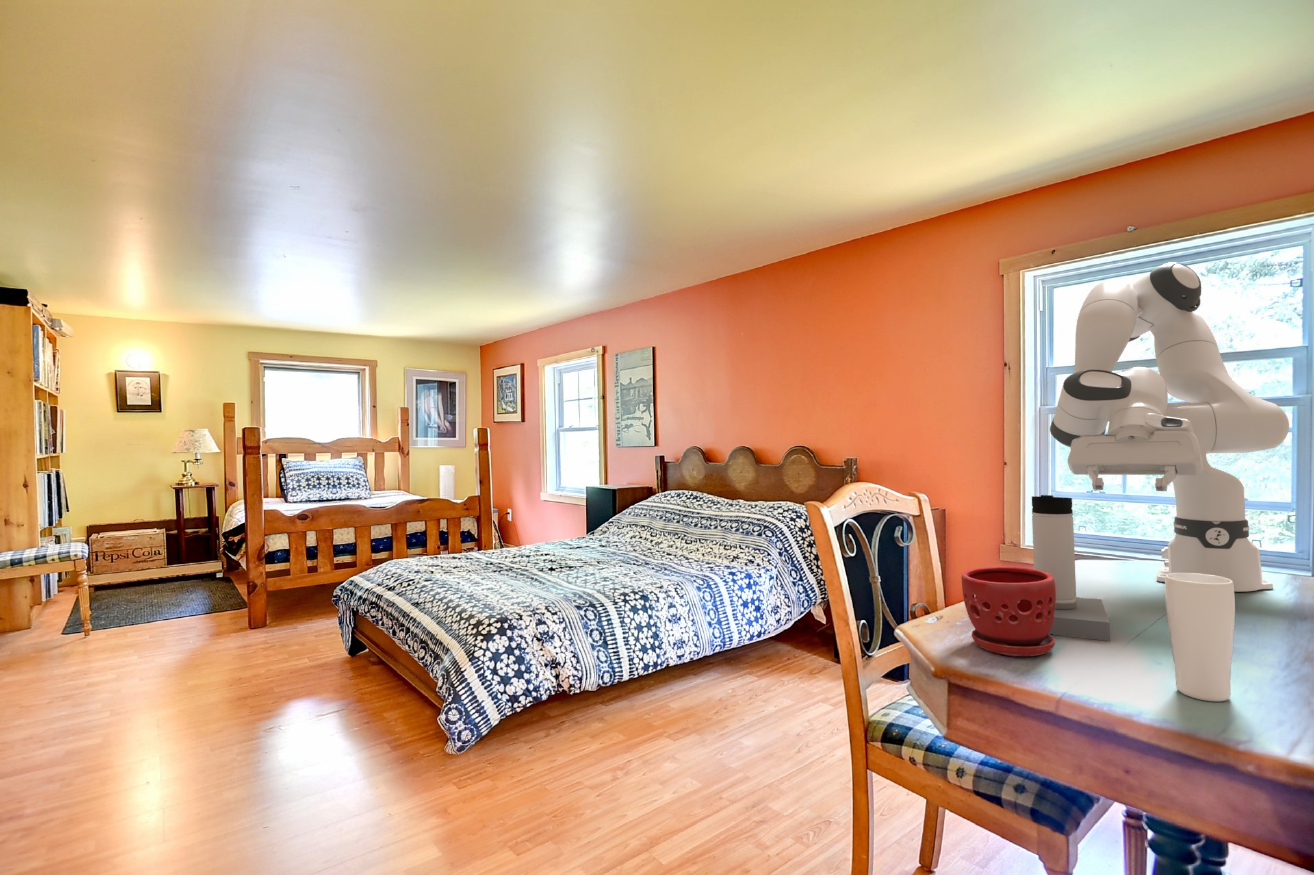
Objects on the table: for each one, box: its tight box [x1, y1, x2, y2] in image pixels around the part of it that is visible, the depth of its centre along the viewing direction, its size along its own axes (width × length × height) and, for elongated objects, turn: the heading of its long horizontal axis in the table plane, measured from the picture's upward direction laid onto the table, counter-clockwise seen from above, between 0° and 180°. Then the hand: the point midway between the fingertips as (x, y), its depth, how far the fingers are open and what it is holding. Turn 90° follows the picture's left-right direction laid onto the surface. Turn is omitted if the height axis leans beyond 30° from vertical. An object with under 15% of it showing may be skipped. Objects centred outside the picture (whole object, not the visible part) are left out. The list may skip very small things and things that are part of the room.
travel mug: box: [1031, 494, 1077, 610], centre depth 113 cm, size 6×7×20 cm
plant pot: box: [960, 566, 1056, 658], centre depth 101 cm, size 13×13×12 cm
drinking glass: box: [1164, 573, 1236, 703], centre depth 81 cm, size 7×7×15 cm
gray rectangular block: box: [1018, 596, 1112, 642], centre depth 113 cm, size 16×14×3 cm
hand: (1128, 488), depth 116 cm, fingers open, 8 cm apart
